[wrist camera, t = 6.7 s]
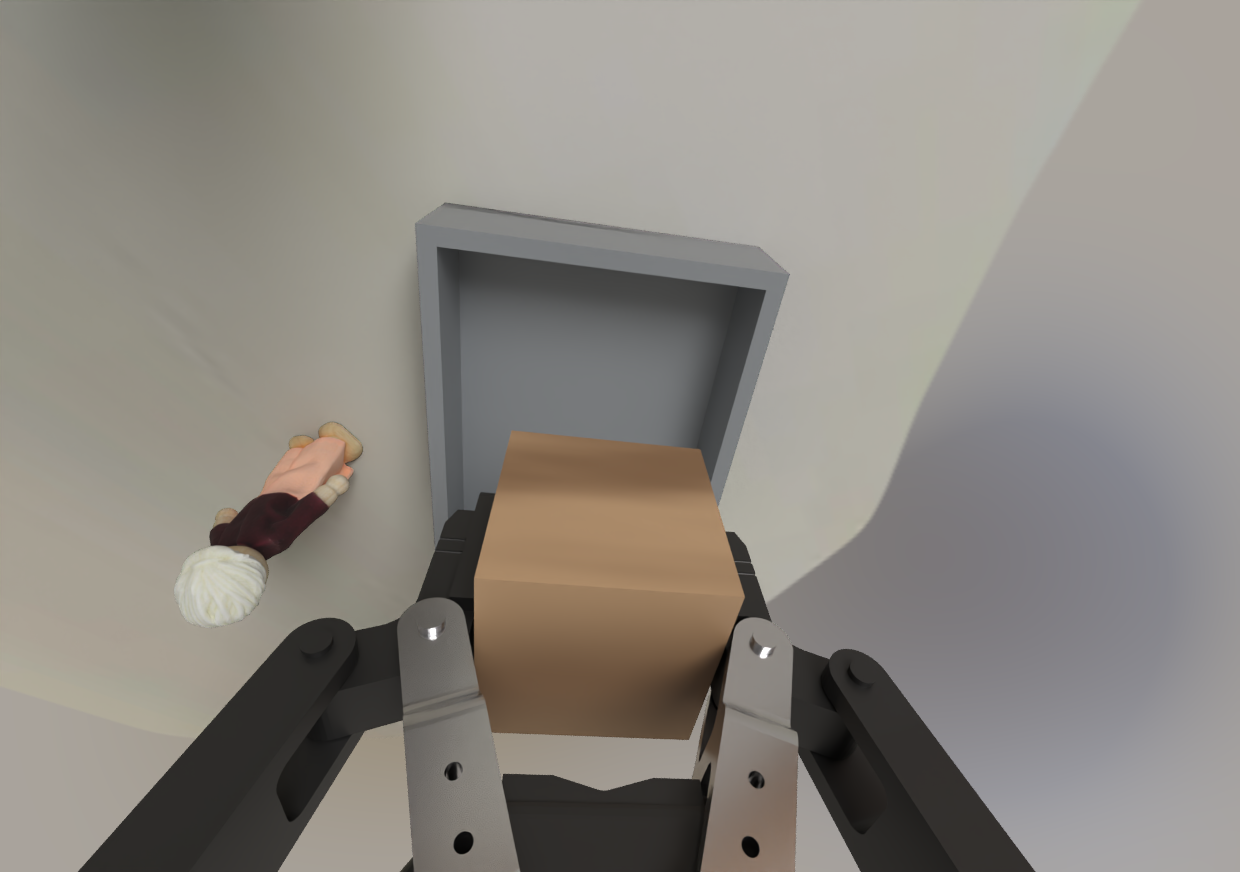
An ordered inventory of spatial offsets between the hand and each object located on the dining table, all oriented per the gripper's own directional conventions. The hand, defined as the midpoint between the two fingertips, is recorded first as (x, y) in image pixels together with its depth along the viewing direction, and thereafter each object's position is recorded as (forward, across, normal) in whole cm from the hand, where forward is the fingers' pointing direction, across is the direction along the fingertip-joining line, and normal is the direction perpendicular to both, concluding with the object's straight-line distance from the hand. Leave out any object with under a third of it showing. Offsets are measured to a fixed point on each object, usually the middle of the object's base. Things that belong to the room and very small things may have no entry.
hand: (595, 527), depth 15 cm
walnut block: (+1, 0, 0) cm, 1 cm away
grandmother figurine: (+17, +15, +10) cm, 25 cm away
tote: (+17, 0, +5) cm, 17 cm away
